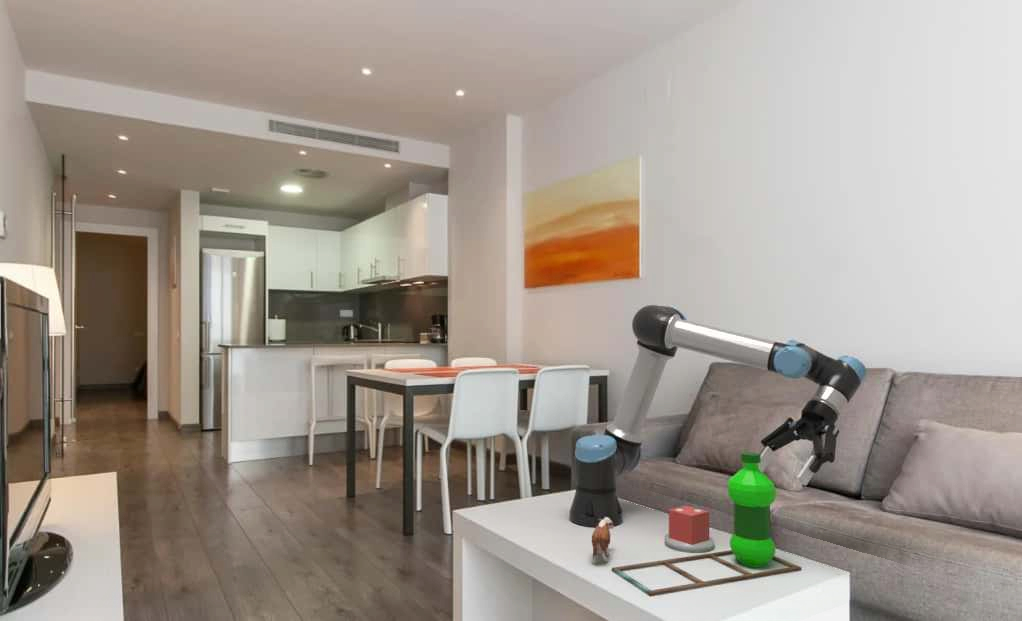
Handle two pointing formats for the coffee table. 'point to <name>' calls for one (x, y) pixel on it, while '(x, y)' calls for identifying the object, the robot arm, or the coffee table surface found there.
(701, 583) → the walnut frame
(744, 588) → the coffee table surface
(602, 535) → the bull figurine
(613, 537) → the coffee table surface
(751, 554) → the plastic bottle
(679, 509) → the red die stand
